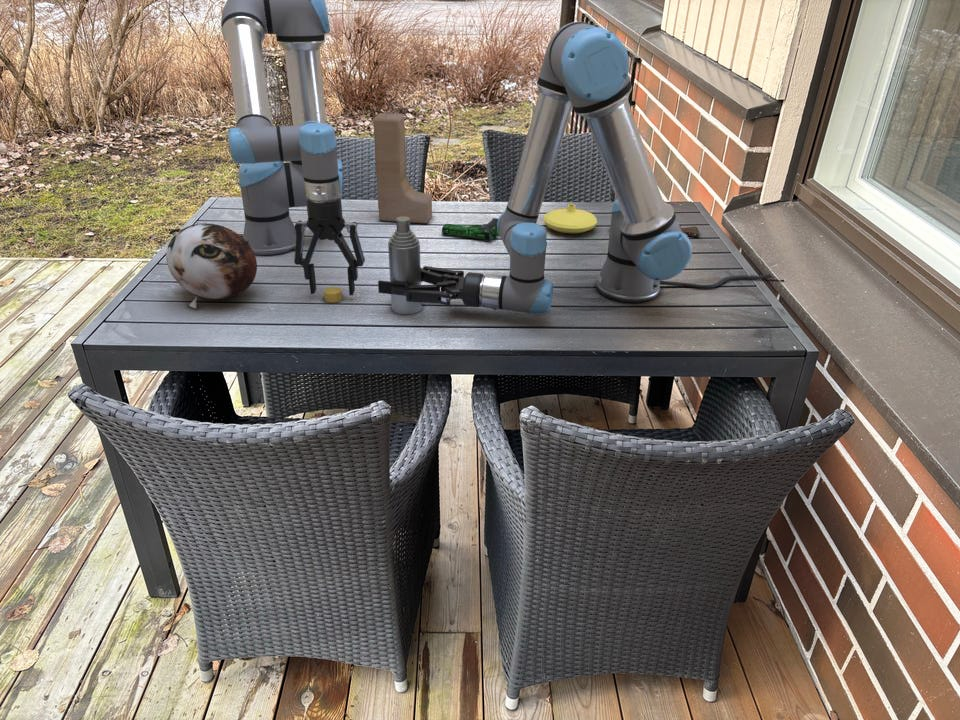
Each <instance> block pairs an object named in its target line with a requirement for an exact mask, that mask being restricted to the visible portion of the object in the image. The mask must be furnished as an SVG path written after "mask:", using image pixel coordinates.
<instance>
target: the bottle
mask: <svg viewBox="0 0 960 720" xmlns="http://www.w3.org/2000/svg"><path fill="white" fill-rule="evenodd" d="M395 224H396V229H395V231H394V232H393V233H392V235H391V236H390V238H389V239H388V242H387V249H388V267H389V282H398V283H408V286H413V285H422V282H421V269H422V268H421V267H422V266H421V241H420V239H419V237H418V236H417V235H416V234H415V233H414V231H413V230H412V229H411V222H410V218H409V217H405V216H401V217H397V218H396V222H395ZM390 303H391V305H390V307H391V310H392V311H393V312H394V313H396V314H399V315H414V314H416V313H419V312H420V311H421V310H422V308H423V304H422V303H420V302H407V301H406V296H403V295H394V294H390Z"/></svg>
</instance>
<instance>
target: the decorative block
mask: <svg viewBox="0 0 960 720" xmlns="http://www.w3.org/2000/svg"><path fill="white" fill-rule="evenodd" d="M405 123H406V122H405V115H404V114H403V113H393V112H392V113H391V112H390V113H389V112H380V113H378V114H376V115H375V117H373V118H372V125H373V126H372V127H373V142H374V159H375V174H376V175H375V177H376V186H377V187H376V192H377V206H378V219H379V221H381V222H395V223H396V218H397V217H401V216H405V217H409V218H410V224H411V223H413V224H428V223H429V222H430V219H431V218H432V216H433V196H432V194H430V193H425V192H421V191H417V190H416V189H415V188H413V187H412V186H411V183H410V182H409V179H408V177H407V174H408V173H407V151H406V124H405Z"/></svg>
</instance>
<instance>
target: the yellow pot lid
mask: <svg viewBox="0 0 960 720" xmlns="http://www.w3.org/2000/svg"><path fill="white" fill-rule="evenodd" d="M543 222H544V225H545V226H546V227H548V228H550V229H551V230H554V231H556V232H559V233H564V234H580V233H584V232H585V233H586V232H587V231H591V230H592V229H594V228H596V226H597V223H598V219H597V217H596V215H595V214H593V213H591V212H589V211H587V210H584V209H578V208H576V205H575V204H571V203H570V204H567V208H557V209H552V210H549V211H548V212H547V213H545V214H544V216H543Z"/></svg>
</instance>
